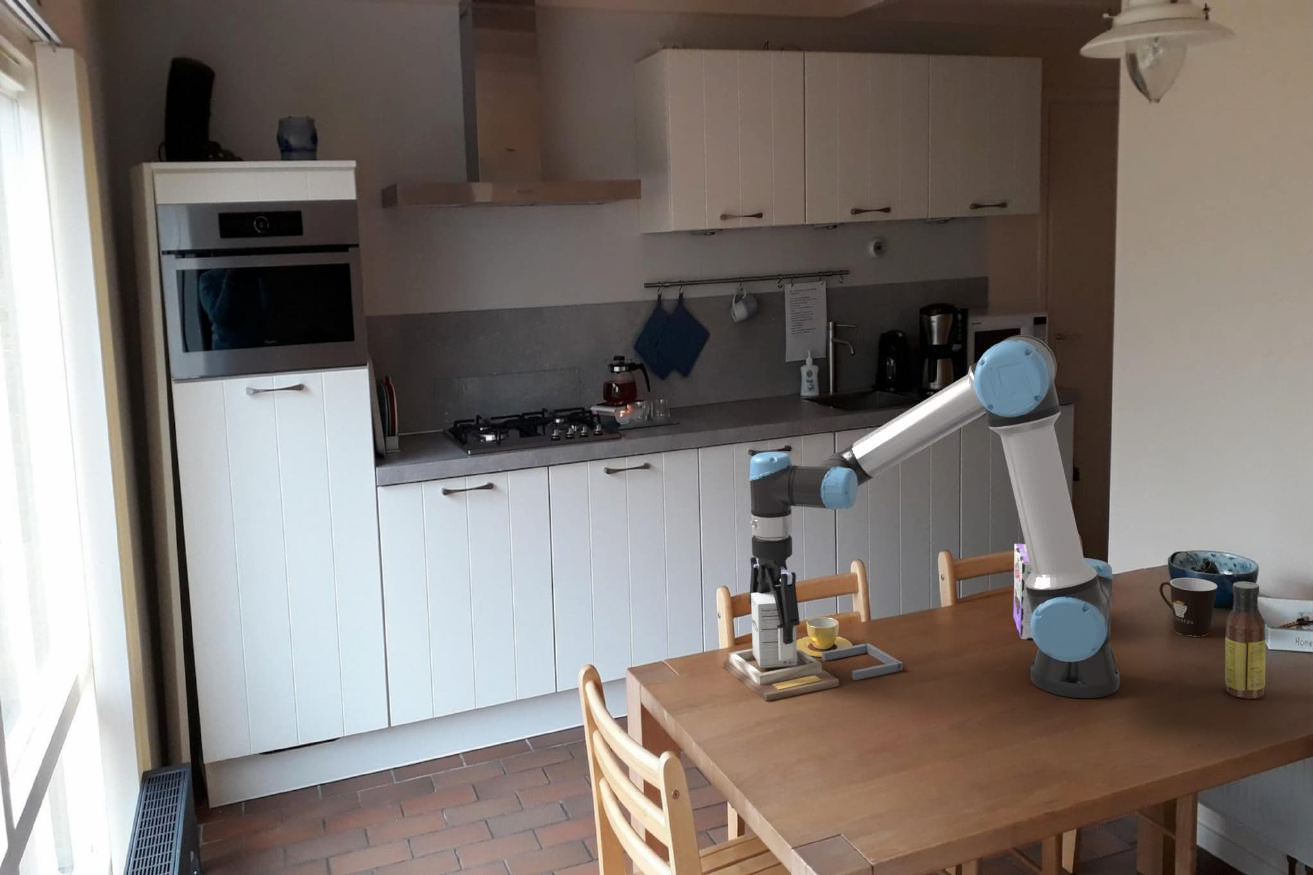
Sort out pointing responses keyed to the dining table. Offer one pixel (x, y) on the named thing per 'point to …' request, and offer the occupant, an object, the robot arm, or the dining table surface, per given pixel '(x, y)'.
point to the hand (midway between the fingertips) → (774, 650)
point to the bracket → (890, 662)
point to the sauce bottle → (1245, 644)
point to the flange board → (779, 675)
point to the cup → (822, 636)
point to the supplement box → (768, 632)
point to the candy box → (1021, 591)
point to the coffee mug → (1191, 604)
